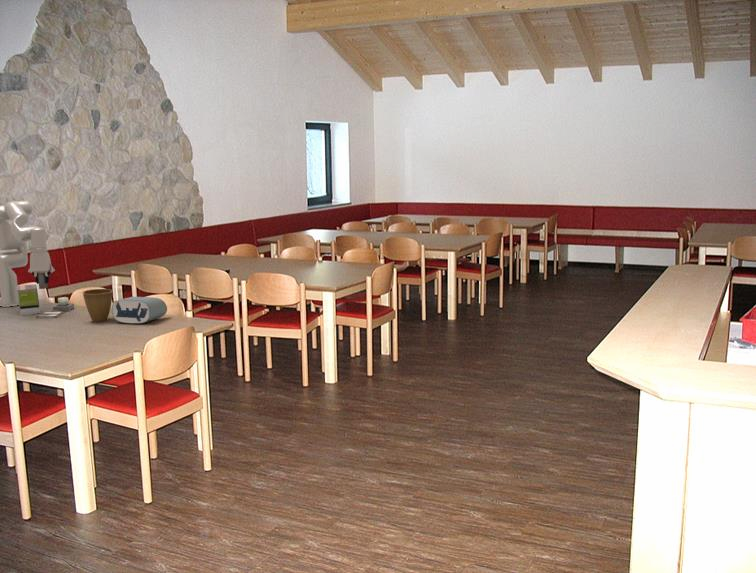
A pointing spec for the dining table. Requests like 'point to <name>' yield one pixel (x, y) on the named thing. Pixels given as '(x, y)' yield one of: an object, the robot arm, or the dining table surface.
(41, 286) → the marker
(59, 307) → the button housing
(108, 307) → the plant pot
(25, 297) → the tea box
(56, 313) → the clipboard
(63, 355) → the dining table surface
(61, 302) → the button
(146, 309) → the pencil case
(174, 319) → the dining table surface
